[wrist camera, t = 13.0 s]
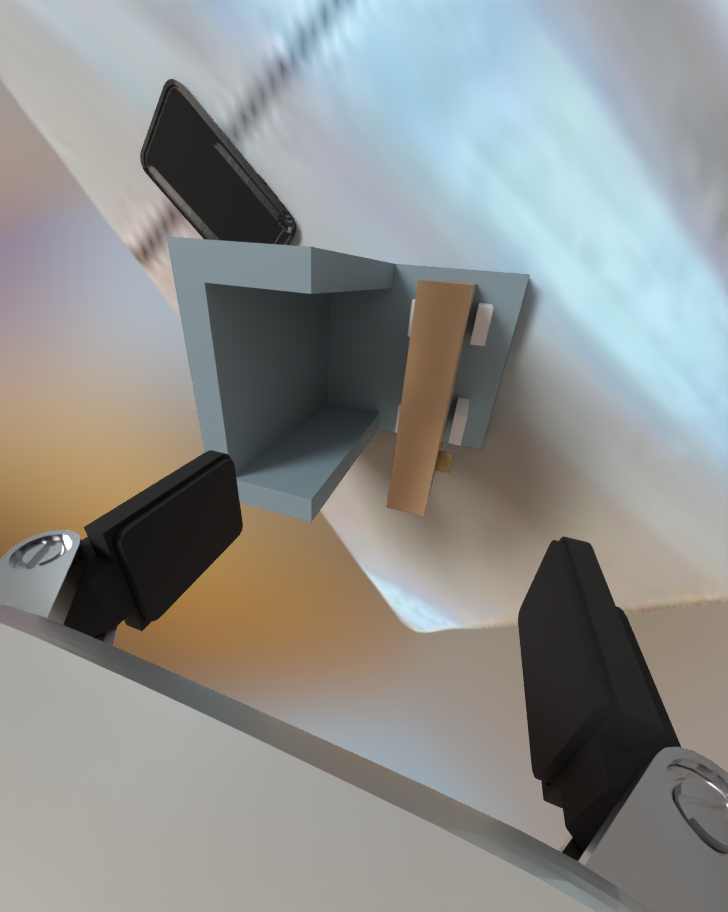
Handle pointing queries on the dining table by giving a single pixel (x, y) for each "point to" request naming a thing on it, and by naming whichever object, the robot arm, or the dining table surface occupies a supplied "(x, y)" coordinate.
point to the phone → (209, 175)
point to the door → (428, 390)
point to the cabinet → (320, 359)
